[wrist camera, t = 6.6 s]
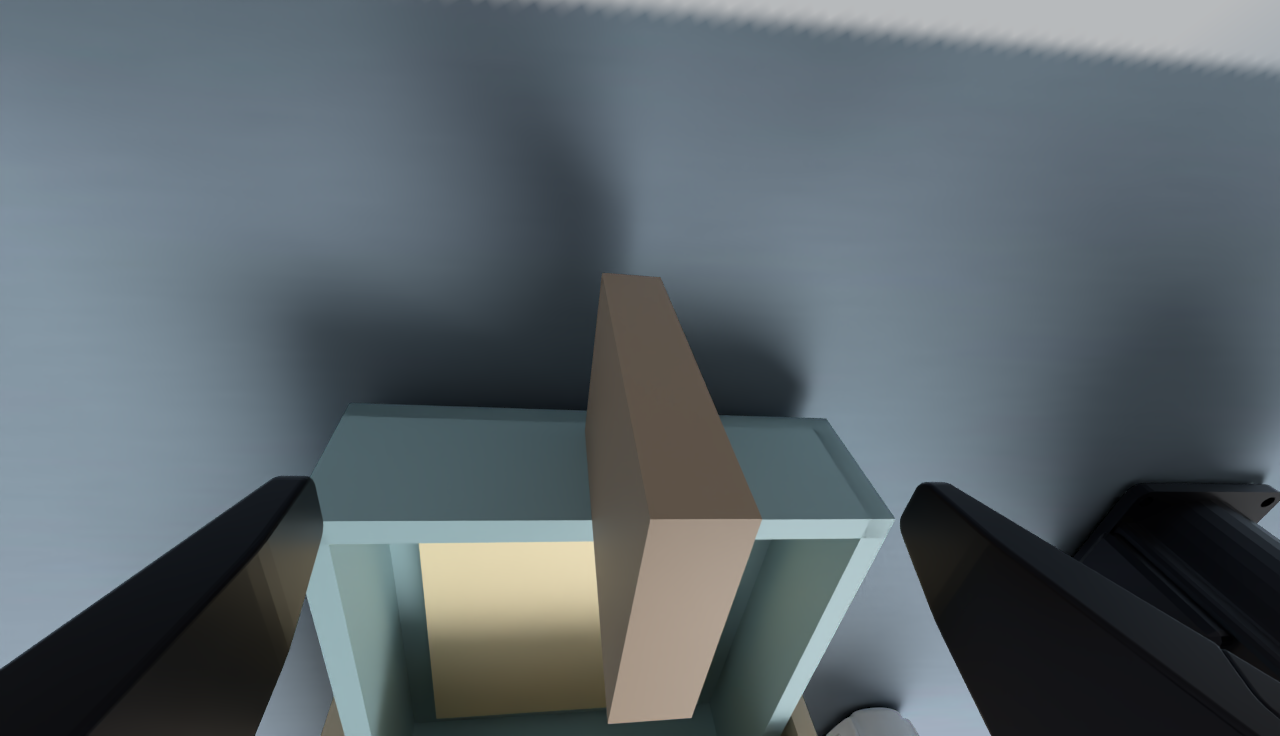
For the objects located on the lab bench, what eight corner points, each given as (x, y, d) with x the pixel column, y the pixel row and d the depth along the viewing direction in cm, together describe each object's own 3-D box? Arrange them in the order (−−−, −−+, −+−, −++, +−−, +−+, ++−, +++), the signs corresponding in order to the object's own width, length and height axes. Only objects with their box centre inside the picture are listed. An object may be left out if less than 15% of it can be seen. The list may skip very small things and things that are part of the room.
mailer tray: (879, 282, 13) (1175, 517, 7) (718, 697, 22) (780, 955, 16) (322, 234, 11) (12, 521, 5) (400, 718, 20) (333, 1027, 14)
